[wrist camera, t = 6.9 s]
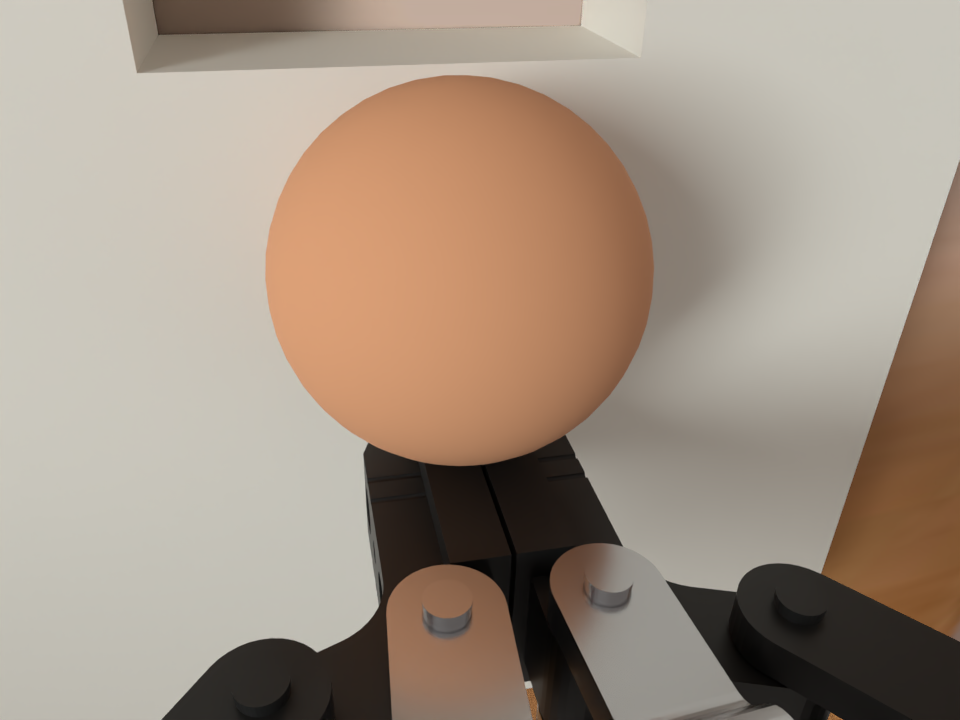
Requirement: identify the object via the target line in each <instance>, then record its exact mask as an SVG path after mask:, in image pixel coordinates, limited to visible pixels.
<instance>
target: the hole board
mask: <svg viewBox="0 0 960 720" xmlns="http://www.w3.org/2000/svg"><path fill="white" fill-rule="evenodd" d="M442 75H471V76H482V77H491V78H496V79H500V80H504V81H508V82H512V83H516V84H520V85H522V86H525V87H527V88H530V89H532V90H534V91H537V92H539V93H542V94H544V95H546V96H548V97H549V98H551V99H553V100H555V101H556V102H558V103H560V104H561V105H563V106H565V107H567V108H568V109H570V110H571V111H572V112H573V113H575V114H576V115H577V116H579V117H580V118H581V119H582V120H584V121H585V122H586V123H587V124H589V125H590V126H591V127H592V128H593V129H594V130H595V131H596V132H597V133H598V134H599V135H600V136H601V138H602V139H603V140H604V141H605V142H606V143H607V144H608V145H609V146H610V148H611V149H612V150H613V152H614V153H615V155H616V156H617V157H618V159H619V160H620V161H621V163H622V164H623V166H624V167H625V169H626V171H627V173H628V175H629V177H630V179H631V181H632V182H633V184H634V186H635V188H636V190H637V192H638V195H639V198H640V201H641V203H642V206H643V209H644V211H645V214H646V217H647V221H648V226H649V230H650V235H651V240H652V248H653V260H654V277H653V293H652V300H651V305H650V311H649V316H648V321H647V325H646V328H645V331H644V333H643V336H642V339H641V342H640V345H639V348H638V349H637V351H636V353H635V355H634V357H633V359H632V361H631V363H630V365H629V367H628V369H627V371H626V372H625V374H624V376H623V377H622V379H621V380H620V382H619V383H618V384H617V386H616V387H615V389H614V390H613V391H612V393H611V394H610V395H609V396H608V398H607V399H606V400H605V401H604V402H603V403H602V404H601V405H600V406H599V407H598V408H597V409H596V410H595V411H594V412H593V413H592V414H591V415H590V416H589V417H588V418H587V419H586V420H584V421H583V422H582V423H580V424H579V425H578V426H576V427H575V428H574V429H572V430H571V431H570V432H568V433H567V434H565V435H566V437H567V439H568V441H569V443H570V444H571V446H572V448H573V450H574V452H575V457H576V458H578V460H579V462H580V464H581V466H582V468H583V470H584V472H585V477H588V479H589V481H590V483H591V485H592V487H593V489H594V491H595V493H596V495H597V497H598V499H599V501H600V503H601V505H602V506H603V508H604V510H605V512H606V514H607V516H608V518H609V520H610V522H611V524H612V526H613V528H614V530H615V532H616V534H617V536H618V537H619V539H620V541H621V543H622V545H623V547H625V548H628V549H630V550H633V551H635V552H637V553H639V554H640V555H642V556H643V557H645V558H646V559H648V560H649V561H650V562H651V563H652V564H653V565H654V566H655V567H656V568H657V569H658V571H659V572H660V573H661V575H662V576H663V578H664V579H665V580H667V581H669V582H672V583H676V584H679V585H685V586H690V587H698V588H707V589H716V590H724V591H733V592H737V589H738V585H739V582H740V581H741V579H742V577H743V576H744V575H745V574H746V573H747V572H749V571H750V570H752V569H753V568H756V567H758V566H761V565H766V564H773V563H783V564H792V565H797V566H801V567H804V568H808V569H811V570H813V571H815V572H818V573H820V574H821V572H822V569H823V566H824V563H825V560H826V557H827V554H828V551H829V548H830V545H831V542H832V539H833V536H834V533H835V530H836V527H837V524H838V521H839V518H840V515H841V512H842V509H843V506H844V503H845V500H846V497H847V494H848V491H849V488H850V485H851V482H852V479H853V476H854V473H855V471H856V468H857V465H858V462H859V459H860V456H861V453H862V450H863V447H864V444H865V441H866V438H867V435H868V432H869V429H870V426H871V423H872V420H873V417H874V414H875V411H876V408H877V405H878V402H879V399H880V396H881V393H882V390H883V387H884V384H885V381H886V378H887V375H888V372H889V369H890V366H891V363H892V360H893V357H894V354H895V351H896V348H897V345H898V342H899V339H900V336H901V333H902V330H903V327H904V324H905V321H906V318H907V315H908V312H909V310H910V307H911V304H912V301H913V298H914V295H915V292H916V289H917V286H918V283H919V280H920V277H921V274H922V271H923V268H924V265H925V262H926V259H927V256H928V253H929V250H930V247H931V244H932V241H933V238H934V235H935V232H936V229H937V226H938V223H939V220H940V217H941V214H942V211H943V208H944V205H945V202H946V199H947V196H948V193H949V190H950V187H951V184H952V181H953V178H954V175H955V172H956V169H957V166H958V163H959V160H960V0H583V7H582V20H581V26H536V27H491V28H446V29H401V30H356V31H311V32H266V33H221V34H176V35H158V30H157V25H156V19H155V14H154V8H153V3H152V0H0V720H162V718H163V717H164V716H165V715H166V714H167V713H168V712H169V711H170V710H171V709H172V708H173V706H174V705H175V704H176V703H177V702H178V701H179V700H180V699H181V698H182V697H183V696H184V695H185V693H186V692H187V691H188V690H189V689H190V688H191V687H192V686H193V685H194V684H195V683H196V682H197V680H198V679H199V678H200V677H201V676H202V675H203V674H204V673H205V672H206V671H207V670H208V668H209V667H210V666H211V665H213V664H214V663H215V662H216V661H217V660H218V659H219V658H221V657H222V656H223V655H225V654H226V653H227V652H229V651H231V650H233V649H235V648H237V647H238V646H241V645H244V644H246V643H249V642H252V641H257V640H261V639H269V638H284V639H290V640H295V641H297V642H300V643H303V644H305V645H307V646H309V647H310V648H312V649H313V650H315V651H316V652H319V651H321V650H323V649H326V648H328V647H330V646H332V645H334V644H337V643H339V642H341V641H343V640H345V639H347V638H348V637H350V636H352V635H353V634H355V633H356V632H357V631H359V630H360V629H361V628H362V627H363V626H364V625H366V624H367V623H368V622H369V620H370V619H371V618H372V617H373V615H374V614H375V612H376V610H377V609H378V607H379V604H378V597H377V590H376V582H375V577H374V570H373V563H372V556H371V549H370V542H369V535H368V525H367V508H366V492H365V475H364V459H363V453H364V451H365V449H366V447H367V444H368V442H366V441H365V440H363V439H361V438H360V437H358V436H356V435H355V434H353V433H351V432H350V431H349V430H347V429H346V428H344V427H343V426H342V425H341V424H339V423H338V422H337V421H336V420H335V419H334V418H332V417H331V416H330V415H329V414H328V413H326V412H325V411H324V409H323V408H322V407H321V406H320V405H319V404H318V403H317V402H316V401H315V400H314V399H313V397H312V396H311V395H310V394H309V393H308V391H307V390H306V389H305V388H304V387H303V385H302V383H301V382H300V380H299V379H298V377H297V375H296V374H295V372H294V371H293V369H292V367H291V366H290V364H289V362H288V361H287V359H286V357H285V354H284V352H283V350H282V348H281V345H280V343H279V341H278V338H277V336H276V332H275V329H274V325H273V321H272V318H271V314H270V310H269V304H268V297H267V289H266V281H265V267H266V249H267V242H268V236H269V229H270V226H271V222H272V219H273V216H274V212H275V209H276V206H277V202H278V199H279V197H280V195H281V193H282V190H283V188H284V186H285V184H286V182H287V179H288V177H289V175H290V174H291V172H292V170H293V169H294V167H295V166H296V164H297V163H298V161H299V159H300V158H301V156H302V155H303V153H304V152H305V151H306V150H307V149H308V147H309V146H310V145H311V144H312V143H313V142H314V140H315V139H316V138H317V137H318V136H319V135H320V133H321V132H322V131H324V130H325V129H326V128H327V127H328V126H329V125H330V124H332V123H333V122H334V121H335V120H336V119H337V118H338V117H340V116H341V115H342V114H343V113H345V112H346V111H348V110H349V109H351V108H352V107H354V106H355V105H357V104H359V103H360V102H362V101H363V100H365V99H367V98H369V97H371V96H373V95H375V94H377V93H379V92H381V91H384V90H386V89H388V88H390V87H394V86H397V85H400V84H403V83H407V82H410V81H413V80H417V79H423V78H430V77H436V76H442ZM524 683H525V687H526V689H528V688H533V687H532V684H531V681H527V682H524Z"/></svg>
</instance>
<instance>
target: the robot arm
mask: <svg viewBox="0 0 960 720" xmlns="http://www.w3.org/2000/svg"><path fill="white" fill-rule="evenodd" d="M363 459H364V475H365V492H366V508H367V525H368V535H369V542H370V549H371V556H372V563H373V570H374V577H375V582H376V590H377V597H378V604H379V607H378V609H377V610H376V612H375V614H374V615H373V617H372V618H371V619H370V620H369V622H368V623H367V624H366V625H364V626H363V627H362V628H361V629H360V630H359V631H357V632H356V633H355V634H353V635H352V636H350V637H348V638H347V639H345V640H343V641H341V642H339V643H337V644H334V645H332V646H330V647H328V648H326V649H323V650H321V651H319V652H316V651H315V650H313V649H312V648H310V647H309V646H307V645H305V644H303V643H300V642H297V641H295V640H290V639H284V638H269V639H261V640H257V641H252V642H249V643H246V644H244V645H241V646H238V647H237V648H235V649H233V650H231V651H229V652H227V653H226V654H225V655H223V656H222V657H221V658H219V659H218V660H217V661H216V662H215V663H214V664H213V665H211V666H210V667H209V668H208V670H207V671H206V672H205V673H204V674H203V675H202V676H201V677H200V678H199V679H198V680H197V682H196V683H195V684H194V685H193V686H192V687H191V688H190V689H189V690H188V691H187V692H186V693H185V695H184V696H183V697H182V698H181V699H180V700H179V701H178V702H177V703H176V704H175V705H174V706H173V708H172V709H171V710H170V711H169V712H168V713H167V714H166V715H165V716H164V717H163V718H162V720H533V719H532V715H531V710H530V706H529V701H528V697H527V692H526V687H525V683H524V682H527V681H531V684H532V687H533V690H534V694H535V697H536V700H537V703H538V705H537V715H536V720H827V719H828V717H829V714H830V712H831V713H833V714H835V715H836V716H838V717H840V718H842V719H843V720H960V642H959V641H957V640H955V639H953V638H951V637H949V636H947V635H945V634H942V633H940V632H938V631H936V630H934V629H932V628H930V627H928V626H926V625H924V624H922V623H920V622H918V621H916V620H914V619H912V618H910V617H908V616H906V615H904V614H902V613H900V612H898V611H895V610H893V609H891V608H889V607H887V606H885V605H883V604H881V603H879V602H877V601H875V600H873V599H871V598H869V597H867V596H865V595H863V594H861V593H859V592H857V591H855V590H853V589H851V588H849V587H846V586H844V585H842V584H840V583H838V582H836V581H834V580H832V579H830V578H828V577H826V576H824V575H822V574H820V573H818V572H815V571H813V570H811V569H808V568H804V567H801V566H797V565H792V564H783V563H773V564H766V565H761V566H758V567H756V568H753V569H752V570H750V571H749V572H747V573H746V574H745V575H744V576H743V577H742V579H741V581H740V582H739V585H738V589H737V592H733V591H724V590H716V589H707V588H698V587H690V586H685V585H679V584H676V583H672V582H669V581H667V580H665V579H664V578H663V576H662V575H661V573H660V572H659V571H658V569H657V568H656V567H655V566H654V565H653V564H652V563H651V562H650V561H649V560H648V559H646V558H645V557H643V556H642V555H640V554H639V553H637V552H635V551H633V550H630V549H628V548H625V547H623V545H622V543H621V541H620V539H619V537H618V536H617V534H616V532H615V530H614V528H613V526H612V524H611V522H610V520H609V518H608V516H607V514H606V512H605V510H604V508H603V506H602V505H601V503H600V501H599V499H598V497H597V495H596V493H595V491H594V489H593V487H592V485H591V483H590V481H589V479H588V477H585V472H584V470H583V468H582V466H581V464H580V462H579V460H578V458H576V457H575V452H574V450H573V448H572V446H571V444H570V443H569V441H568V439H567V437H566V435H564V436H563V437H561V438H559V439H557V440H555V441H553V442H551V443H550V444H548V445H546V446H544V447H542V448H540V449H538V450H536V451H534V452H531V453H528V454H525V455H523V456H519V457H515V458H512V459H508V460H504V461H500V462H496V463H490V464H484V465H474V466H447V465H436V464H430V463H424V462H419V461H415V460H411V459H408V458H405V457H402V456H399V455H396V454H393V453H390V452H387V451H385V450H382V449H380V448H377V447H376V446H374V445H372V444H370V443H368V444H367V447H366V449H365V451H364V453H363Z"/></svg>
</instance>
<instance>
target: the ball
mask: <svg viewBox="0 0 960 720" xmlns="http://www.w3.org/2000/svg"><path fill="white" fill-rule="evenodd" d="M653 277H654V260H653V248H652V240H651V235H650V230H649V226H648V221H647V217H646V214H645V211H644V209H643V206H642V203H641V201H640V198H639V195H638V192H637V190H636V188H635V186H634V184H633V182H632V181H631V179H630V177H629V175H628V173H627V171H626V169H625V167H624V166H623V164H622V163H621V161H620V160H619V159H618V157H617V156H616V155H615V153H614V152H613V150H612V149H611V148H610V146H609V145H608V144H607V143H606V142H605V141H604V140H603V139H602V138H601V136H600V135H599V134H598V133H597V132H596V131H595V130H594V129H593V128H592V127H591V126H590V125H589V124H587V123H586V122H585V121H584V120H582V119H581V118H580V117H579V116H577V115H576V114H575V113H573V112H572V111H571V110H570V109H568V108H567V107H565V106H563V105H561V104H560V103H558V102H556V101H555V100H553V99H551V98H549V97H548V96H546V95H544V94H542V93H539V92H537V91H534V90H532V89H530V88H527V87H525V86H522V85H520V84H516V83H512V82H508V81H504V80H500V79H496V78H491V77H482V76H471V75H442V76H436V77H430V78H423V79H417V80H413V81H410V82H407V83H403V84H400V85H397V86H394V87H390V88H388V89H386V90H384V91H381V92H379V93H377V94H375V95H373V96H371V97H369V98H367V99H365V100H363V101H362V102H360V103H359V104H357V105H355V106H354V107H352V108H351V109H349V110H348V111H346V112H345V113H343V114H342V115H341V116H340V117H338V118H337V119H336V120H335V121H334V122H333V123H332V124H330V125H329V126H328V127H327V128H326V129H325V130H324V131H322V132H321V133H320V135H319V136H318V137H317V138H316V139H315V140H314V142H313V143H312V144H311V145H310V146H309V147H308V149H307V150H306V151H305V152H304V153H303V155H302V156H301V158H300V159H299V161H298V163H297V164H296V166H295V167H294V169H293V170H292V172H291V174H290V175H289V177H288V179H287V182H286V184H285V186H284V188H283V190H282V193H281V195H280V197H279V199H278V202H277V206H276V209H275V212H274V216H273V219H272V222H271V226H270V229H269V236H268V242H267V249H266V267H265V281H266V289H267V297H268V304H269V310H270V314H271V318H272V321H273V325H274V329H275V332H276V336H277V338H278V341H279V343H280V345H281V348H282V350H283V352H284V354H285V357H286V359H287V361H288V362H289V364H290V366H291V367H292V369H293V371H294V372H295V374H296V375H297V377H298V379H299V380H300V382H301V383H302V385H303V387H304V388H305V389H306V390H307V391H308V393H309V394H310V395H311V396H312V397H313V399H314V400H315V401H316V402H317V403H318V404H319V405H320V406H321V407H322V408H323V409H324V411H325V412H326V413H328V414H329V415H330V416H331V417H332V418H334V419H335V420H336V421H337V422H338V423H339V424H341V425H342V426H343V427H344V428H346V429H347V430H349V431H350V432H351V433H353V434H355V435H356V436H358V437H360V438H361V439H363V440H365V441H366V442H368V443H370V444H372V445H374V446H376V447H377V448H380V449H382V450H385V451H387V452H390V453H393V454H396V455H399V456H402V457H405V458H408V459H411V460H415V461H419V462H424V463H430V464H436V465H447V466H474V465H484V464H490V463H496V462H500V461H504V460H508V459H512V458H515V457H519V456H523V455H525V454H528V453H531V452H534V451H536V450H538V449H540V448H542V447H544V446H546V445H548V444H550V443H551V442H553V441H555V440H557V439H559V438H561V437H563V436H564V435H565V434H567V433H568V432H570V431H571V430H572V429H574V428H575V427H576V426H578V425H579V424H580V423H582V422H583V421H584V420H586V419H587V418H588V417H589V416H590V415H591V414H592V413H593V412H594V411H595V410H596V409H597V408H598V407H599V406H600V405H601V404H602V403H603V402H604V401H605V400H606V399H607V398H608V396H609V395H610V394H611V393H612V391H613V390H614V389H615V387H616V386H617V384H618V383H619V382H620V380H621V379H622V377H623V376H624V374H625V372H626V371H627V369H628V367H629V365H630V363H631V361H632V359H633V357H634V355H635V353H636V351H637V349H638V348H639V345H640V342H641V339H642V336H643V333H644V331H645V328H646V325H647V321H648V316H649V311H650V305H651V300H652V293H653Z"/></svg>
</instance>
